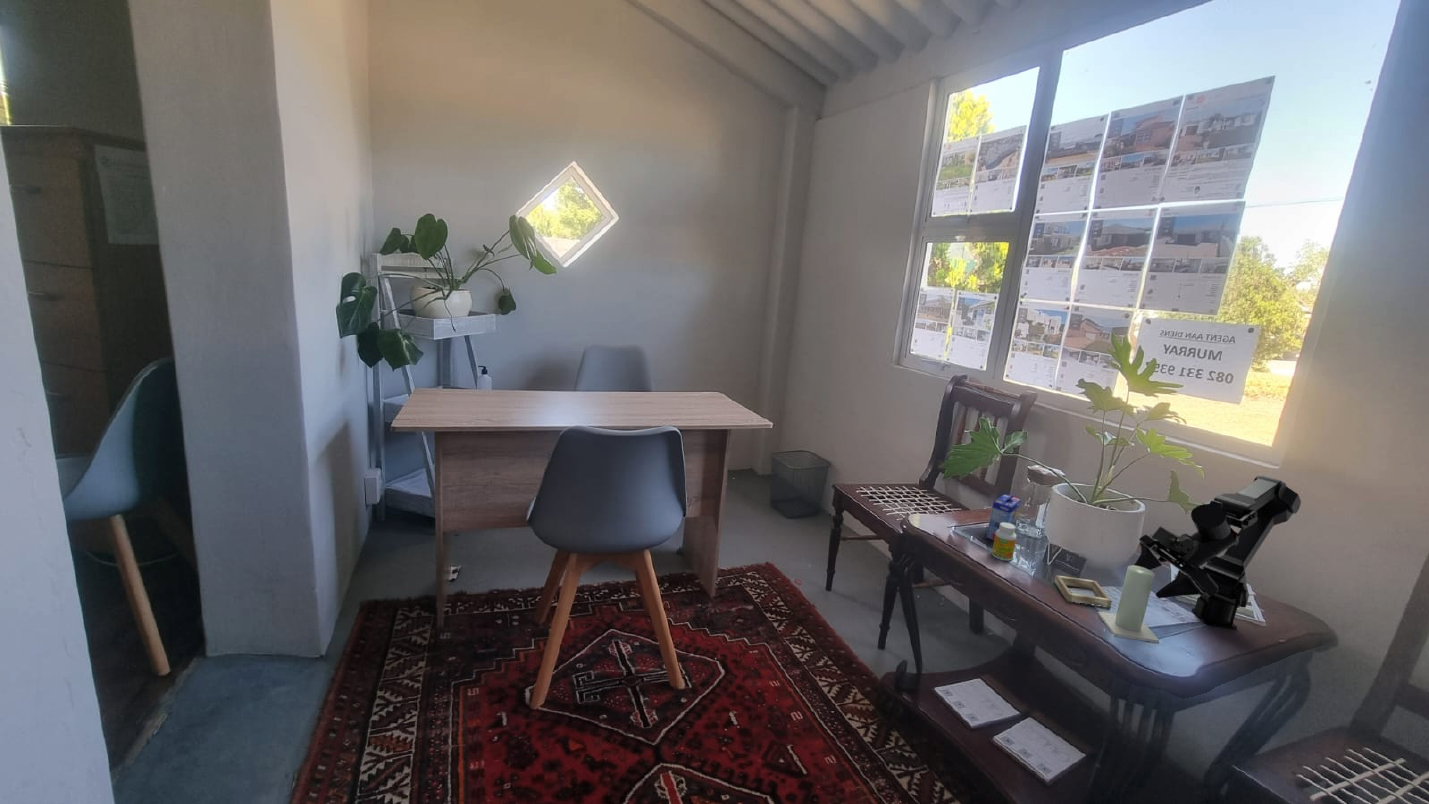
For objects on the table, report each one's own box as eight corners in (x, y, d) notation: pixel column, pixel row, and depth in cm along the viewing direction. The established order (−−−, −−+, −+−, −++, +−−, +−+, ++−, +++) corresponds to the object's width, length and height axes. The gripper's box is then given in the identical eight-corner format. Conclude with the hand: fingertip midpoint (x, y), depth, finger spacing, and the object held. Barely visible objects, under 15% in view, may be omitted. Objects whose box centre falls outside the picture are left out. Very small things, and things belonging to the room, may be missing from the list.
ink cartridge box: (1004, 544, 174) (1012, 499, 171) (985, 538, 178) (993, 494, 174) (1015, 535, 181) (1023, 491, 178) (996, 529, 185) (1004, 486, 181)
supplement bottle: (993, 558, 165) (998, 527, 163) (990, 550, 170) (996, 519, 168) (1013, 562, 163) (1019, 531, 161) (1010, 554, 168) (1016, 523, 166)
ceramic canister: (1134, 621, 137) (1147, 567, 134) (1145, 633, 132) (1159, 578, 129) (1111, 617, 138) (1123, 564, 135) (1120, 629, 133) (1134, 574, 130)
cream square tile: (1139, 619, 138) (1139, 617, 138) (1158, 642, 130) (1159, 640, 130) (1097, 613, 140) (1097, 611, 140) (1114, 636, 132) (1114, 633, 132)
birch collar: (1094, 587, 152) (1095, 580, 152) (1110, 608, 143) (1112, 600, 142) (1054, 581, 154) (1055, 575, 153) (1067, 601, 145) (1069, 594, 144)
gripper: (1156, 502, 137) (1098, 541, 141) (1217, 538, 119) (1150, 582, 122) (1182, 535, 139) (1125, 573, 142) (1247, 575, 121) (1180, 618, 124)
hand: (1143, 585), depth 133 cm, fingers open, 9 cm apart
